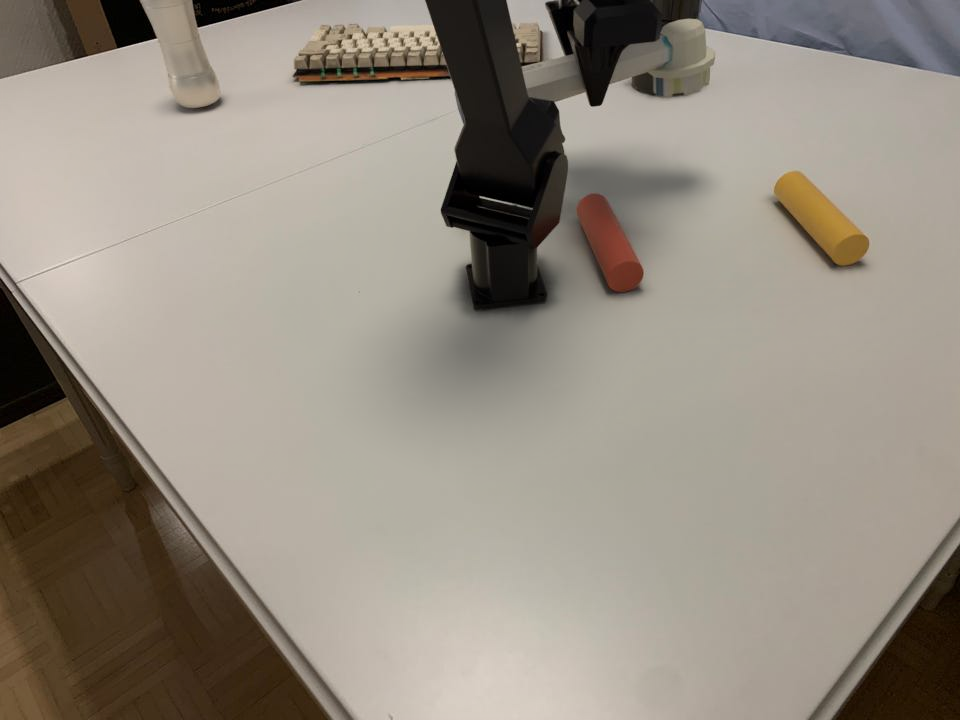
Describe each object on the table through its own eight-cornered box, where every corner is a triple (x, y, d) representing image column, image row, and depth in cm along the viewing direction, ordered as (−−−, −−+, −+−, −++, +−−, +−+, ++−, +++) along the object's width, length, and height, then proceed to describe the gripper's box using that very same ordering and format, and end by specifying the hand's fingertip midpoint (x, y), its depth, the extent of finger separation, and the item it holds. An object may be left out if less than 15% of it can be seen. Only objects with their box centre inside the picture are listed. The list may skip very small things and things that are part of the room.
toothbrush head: (449, 75, 65) (698, -3, 67) (463, 142, 69) (696, 67, 72) (464, 95, 61) (728, 12, 63) (479, 164, 66) (724, 85, 68)
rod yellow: (863, 263, 63) (874, 232, 61) (828, 267, 63) (838, 236, 60) (801, 198, 72) (809, 169, 70) (770, 201, 72) (777, 172, 69)
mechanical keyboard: (542, 33, 115) (542, 10, 113) (544, 76, 101) (544, 52, 99) (315, 44, 118) (311, 22, 116) (286, 88, 104) (280, 64, 102)
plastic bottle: (198, 117, 97) (143, -48, 84) (167, 108, 100) (109, -52, 87) (234, 100, 101) (187, -60, 88) (203, 92, 104) (153, -64, 91)
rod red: (642, 289, 62) (645, 259, 60) (606, 294, 62) (608, 263, 59) (607, 220, 71) (609, 191, 69) (575, 224, 71) (576, 194, 68)
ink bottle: (683, 101, 91) (697, 1, 83) (619, 91, 95) (626, -6, 87) (707, 76, 97) (722, -20, 89) (646, 67, 101) (655, -26, 93)
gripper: (743, -88, 50) (708, 124, 61) (655, -123, 65) (639, 54, 75) (590, -74, 50) (581, 139, 60) (535, -113, 64) (536, 65, 74)
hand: (588, 95), depth 67 cm, fingers closed on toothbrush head, 5 cm apart
